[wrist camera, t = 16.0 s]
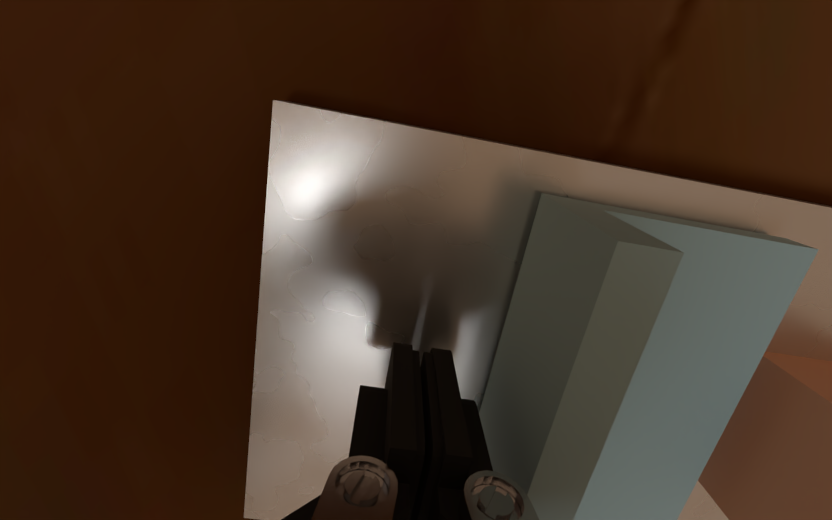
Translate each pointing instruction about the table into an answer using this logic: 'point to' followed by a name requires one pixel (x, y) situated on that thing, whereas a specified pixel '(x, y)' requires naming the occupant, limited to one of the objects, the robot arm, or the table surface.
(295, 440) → the base
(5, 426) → the table surface
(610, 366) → the cover
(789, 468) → the block
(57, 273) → the table surface
